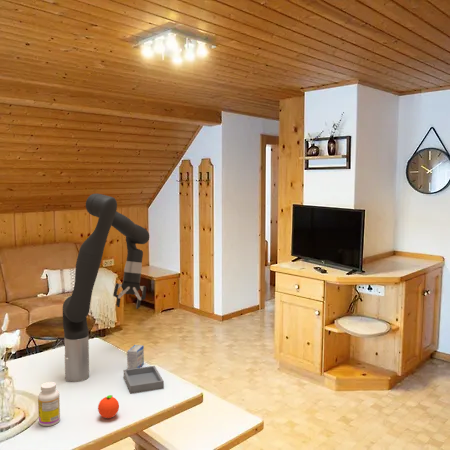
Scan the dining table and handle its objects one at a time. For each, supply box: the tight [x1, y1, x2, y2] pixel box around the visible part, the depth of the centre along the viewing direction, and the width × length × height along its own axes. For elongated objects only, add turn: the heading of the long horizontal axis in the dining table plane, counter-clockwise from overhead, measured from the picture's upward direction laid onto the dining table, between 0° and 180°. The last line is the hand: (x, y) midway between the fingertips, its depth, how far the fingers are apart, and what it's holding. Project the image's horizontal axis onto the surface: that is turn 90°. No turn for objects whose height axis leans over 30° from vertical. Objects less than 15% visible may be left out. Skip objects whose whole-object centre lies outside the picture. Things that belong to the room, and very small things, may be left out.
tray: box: [123, 365, 165, 394], centre depth 186 cm, size 13×16×3 cm
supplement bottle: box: [37, 381, 61, 427], centre depth 156 cm, size 7×7×13 cm
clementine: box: [97, 394, 120, 419], centre depth 160 cm, size 8×7×7 cm
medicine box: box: [126, 344, 145, 369], centre depth 201 cm, size 8×4×9 cm, turn 168°
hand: (127, 307), depth 212 cm, fingers open, 8 cm apart
